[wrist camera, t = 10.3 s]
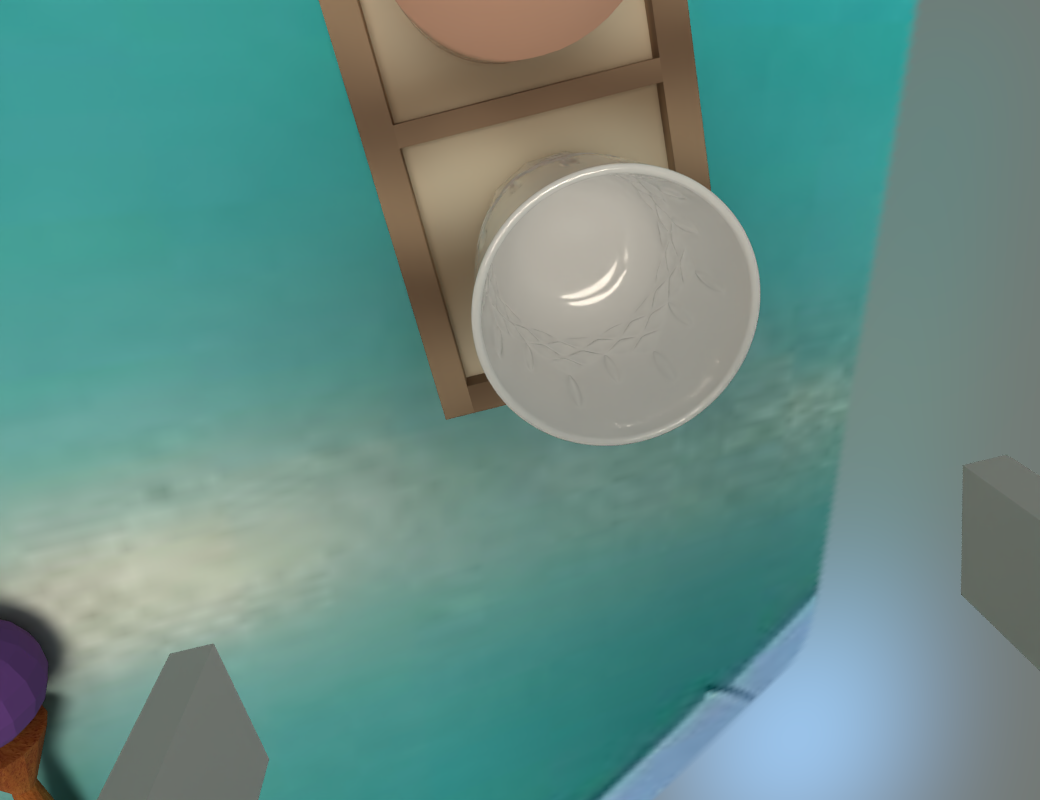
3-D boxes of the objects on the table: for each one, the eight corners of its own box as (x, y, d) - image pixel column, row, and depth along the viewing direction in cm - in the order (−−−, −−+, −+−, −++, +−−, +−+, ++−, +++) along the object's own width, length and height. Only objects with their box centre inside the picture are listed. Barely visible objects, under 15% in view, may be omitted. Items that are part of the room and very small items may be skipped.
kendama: (3, 960, 39) (-186, 693, 30) (74, 846, 44) (-68, 588, 35) (110, 970, 38) (-48, 699, 29) (169, 853, 44) (51, 592, 34)
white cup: (705, 217, 30) (820, 281, 20) (582, 372, 32) (636, 492, 22) (546, 89, 27) (595, 95, 18) (425, 265, 29) (413, 351, 20)
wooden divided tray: (713, 332, 33) (730, 348, 31) (446, 398, 33) (446, 419, 31) (628, -308, 24) (644, -343, 22) (263, -212, 24) (246, -239, 22)
